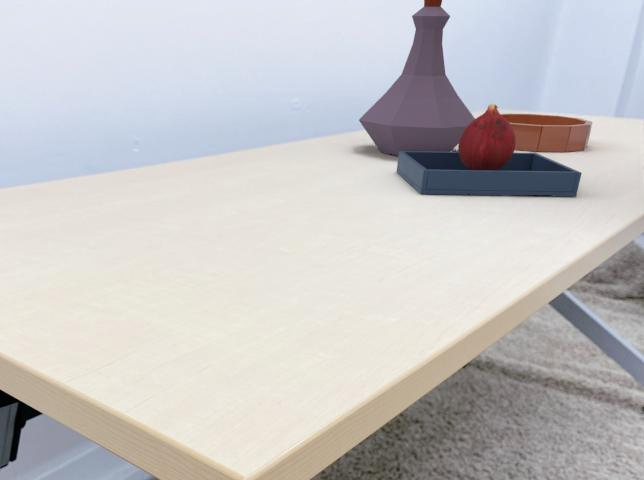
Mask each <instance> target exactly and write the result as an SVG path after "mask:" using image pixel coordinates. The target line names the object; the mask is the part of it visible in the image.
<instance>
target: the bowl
mask: <svg viewBox="0 0 644 480" xmlns="http://www.w3.org/2000/svg"><path fill="white" fill-rule="evenodd" d="M500 114H501V115H502V116H503V117H504V118H505V119H506V120H507V121H508V122H509V123H510V125H511V126H512V128H513V131H514V134H515V141H516V144H515V150H514V151H527V152H535V153H539V152H541V153H567V152H578V151H585V150H586V148H587V147H588V145H589V141H590V135H591V132H592V127H593V121H590V120H587V119H585V118H584V119H583V118H580V117H572V116H566V115H565V116H564V115H555V114H540V113H500Z"/></svg>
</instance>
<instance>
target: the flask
mask: <svg viewBox="0 0 644 480" xmlns="http://www.w3.org/2000/svg"><path fill="white" fill-rule="evenodd" d="M442 3H443V0H423V7H422V8H420V9H419V10H418V11H417V12H415V13H414V14H412V15H411V18H412V21H413V25H414V28H415V32H414V36H413V41H412V45H411V47H410V50H409V53H408V55H407V57H406V61H405V64H404V67H403V69H402V71H401V74H400V75H399V76H398V77H397V79H396V80H395V81H394V82H393V83H392V84H391V86H390V87H389V88H388V89H387V91H386V92H385V93H384V94H382V96H381V97H380V98H379V99H378V100H376V102H375V103H374V104H373V105H372V106H371V107H370V108H369V109H367V111H365V113H364V114H363V115H362V116H361V117H360V118H359V119H358V121H359V123H360V124H361V126H362V128H363V129H364V130H365V132H366V133H367V134H368V136H369V137H370V140H372V142H373V143H374V145H375V146H376V148H377V149H378V150H379V152H380V153H382V152H383V154H386V155H391V154H392V155H391V156H395V155H396V156H395V157H398V155H399V151H432V152H453V150H454V149H455V148H456V147H457V146H458V145H459V141H460V138H461V135H462V133H463V131H464V130H465V129H466V127H467V126H468V125H469V124H470V123H471V122H472V121H473V120H474V119H476V118H475V116H474V115H473V114H472V112H471V111H470V109H469V108H468V107H467V106H466V104H465V102H464V101H463V100H462V99H461V97H460V96H459V95H458V93H457V91H456V90H455V88H454V86H453V84H452V82H450V80H449V77H448V76H447V75H446V66H445V65H446V64H445V57H444V48H443V39H444V38H443V35H444V29H445V27H446V25H447V23H448V21H449V19H450V18H451V15H450V14H449V13H448V12H447V11H446V10H445V9H444V8H442Z"/></svg>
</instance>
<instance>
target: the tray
mask: <svg viewBox="0 0 644 480" xmlns="http://www.w3.org/2000/svg"><path fill="white" fill-rule="evenodd" d="M396 173H397V175H399V176H400V177H401V178H402V179H403V180H404V181H405V182H407V183H408V184H409V186H411V187H412V188H413V189H414V190H415V191H417V192H418V193H419V194H420V195H441V196H442V195H446V196H449V195H450V196H455V195H456V196H501V195H555V196H554V197H561V196H573V197H572V198H576V197H577V195H578V190H579V187H580V182H581V177H582V172H580V171H578V170H576V169H574V168H572V167H570V166H567V165H565V164H563V163H560V162H559V161H555V160H553V159H551V158H549V157H547V156H544V155H542V154H539V153H538V152H514V153H513V155H512V157H511V159H510V160H509V161H508V162H507V163H506V164H505V165H504V166H503V167H502V168H500V169H499V170H497V171H494V170H468V169H467V168H466V166H465V165H464V164H463V162H462V161H461V159H460V156H459V151H450V152H432V151H399V155H398V156H397V163H396ZM468 194H469V195H468ZM574 196H575V197H574Z"/></svg>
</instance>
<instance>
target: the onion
mask: <svg viewBox="0 0 644 480" xmlns="http://www.w3.org/2000/svg"><path fill="white" fill-rule="evenodd" d="M501 114H502V113H500V111H499V107H498V105H497V104H495V103H491V104H489V105H488V106H487V108H486V110H485V111H484V113H483V114H481V115H480V116H477V117H476V118H475V119H474V120H473V121H472V122H471V123H470V124H469V125H468V126H467V127H466V129H465V130H464V131H463V133H462V135H461V138H460V141H459V144H458V145H457V146H458V147H457V148H458V152H459V156H460V159H461V161H462V162H463V164H464V165H465V166H466V168H467V169H468V170H494V171H497V170H499V169H500V168H502V167H503V166H504V165H505V164H506V163H507V162H508V161H509V160H510V159H511V157H512V155H513V153H515V151H516V150H515V144H516V141H515V134H514V131H513V128H512V126H511V125H510V123H509V122H508V121H507V120H506V119H505V118H504V117H503V116H502V115H501Z"/></svg>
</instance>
